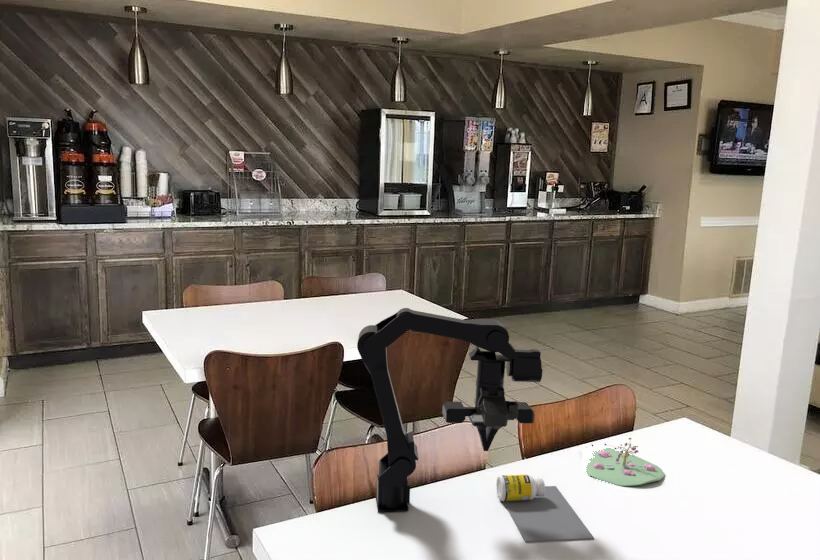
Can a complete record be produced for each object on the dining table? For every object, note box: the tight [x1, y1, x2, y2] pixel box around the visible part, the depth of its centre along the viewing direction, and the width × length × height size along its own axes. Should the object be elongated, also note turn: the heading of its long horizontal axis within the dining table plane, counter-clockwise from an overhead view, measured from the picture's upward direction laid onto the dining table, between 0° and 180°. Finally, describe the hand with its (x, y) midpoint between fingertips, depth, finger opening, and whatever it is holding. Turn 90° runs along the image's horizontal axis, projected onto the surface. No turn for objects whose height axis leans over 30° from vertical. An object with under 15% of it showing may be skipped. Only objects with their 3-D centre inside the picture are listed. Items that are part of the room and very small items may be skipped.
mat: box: [495, 485, 595, 543], centre depth 141 cm, size 14×22×1 cm, turn 7°
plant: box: [586, 437, 665, 487], centre depth 165 cm, size 25×21×9 cm
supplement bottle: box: [496, 474, 546, 502], centre depth 145 cm, size 5×5×10 cm
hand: (485, 450), depth 141 cm, fingers closed
